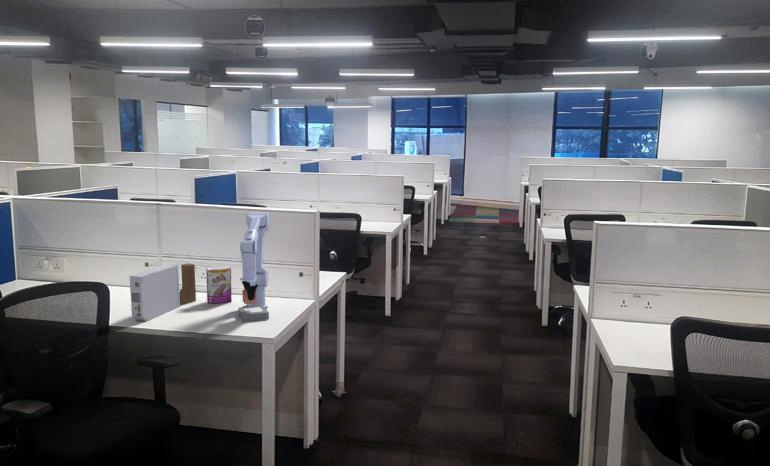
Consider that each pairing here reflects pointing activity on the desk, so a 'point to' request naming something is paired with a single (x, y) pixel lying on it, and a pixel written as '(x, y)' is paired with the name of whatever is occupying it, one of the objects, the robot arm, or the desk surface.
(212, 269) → the candy bar box
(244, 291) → the salmon brown cube
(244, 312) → the grey square frame
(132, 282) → the game console
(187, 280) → the wooden block
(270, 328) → the desk surface
